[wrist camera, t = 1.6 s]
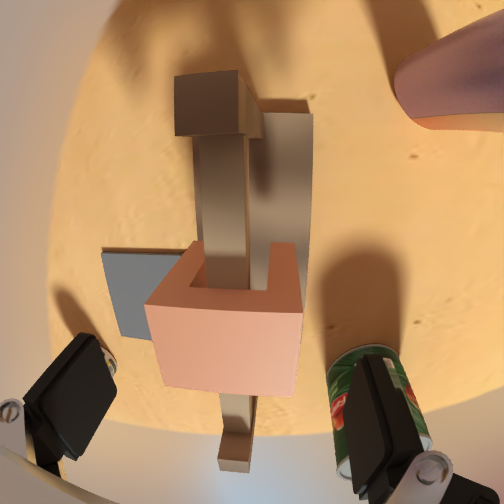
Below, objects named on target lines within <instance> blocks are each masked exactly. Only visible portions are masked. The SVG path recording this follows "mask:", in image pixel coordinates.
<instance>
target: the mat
mask: <svg viewBox="0 0 504 504" xmlns="http://www.w3.org/2000/svg"><path fill="white" fill-rule="evenodd" d="M182 255H183V254H167V253H131V252H102V253H101V257H102V262H103V267H104V271H105V276H106V280H107V285H108V289H109V293H110V297H111V301H112V305H113V309H114V312H115V316H116V319H117V323H118V326H119V330H120V333H121V336H125V337H131V338H138V339H144V340H152V338H151V334H150V329H149V325H148V321H147V316H146V312H145V307H144V304H145V302H146V301H147V300H148V298H149V297H150V296H151V294H152V293H153V292H154V290H155V289H156V288H157V287H158V285H159V284H160V283H161V281H162V280H163V279H164V278H165V276H166V275H167V274H168V272H169V271H170V270H171V269H172V267H173V266H174V265H175V264H176V262H177V261H178V260H179V259H180V257H181V256H182Z"/></svg>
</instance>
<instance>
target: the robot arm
mask: <svg viewBox="0 0 504 504" xmlns="http://www.w3.org/2000/svg"><path fill="white" fill-rule="evenodd" d="M116 394H117V388H116V385H115V383H114V381H113V378H112V376H111V373H110V370H109V368H108V365H107V363H106V360H105V357H104V354H103V352H102V349H101V346H100V343H99V341H98V340H97V339H96V337H95V336H94V335H92V334H87V333H82V332H81V333H79V334H78V335H77V336H76V337H75V338H74V339H73V340H72V341H71V342H70V343H69V345H68V346H67V347H66V348H65V349H64V350H63V351H62V352H61V353H60V355H59V356H58V357H57V358H56V359H55V360H54V361H53V363H52V364H51V365H50V366H49V367H48V368H47V369H46V371H45V372H44V373H43V374H42V375H41V376H40V378H39V379H38V380H37V381H36V383H35V384H34V385H33V386H32V387H31V388H30V390H29V391H28V392H27V393H26V394H25V396H24V397H23V400H24V402H25V404H24V405H23V404H22V403H21V402H20V401H19V400H17V399H7V400H4V401H3V402H1V403H0V504H119V503H116V502H113V501H110V500H108V499H105V498H103V497H100V496H98V495H95V494H93V493H91V492H88V491H86V490H84V489H82V488H80V487H77V486H75V485H73V484H71V483H69V482H68V481H67V477H66V474H65V470H64V466H63V462H62V457H63V455H65V456H66V457H68V458H70V459H72V460H74V461H77V459H78V457H79V456H82V455H83V453H84V452H85V449H86V448H87V446H88V444H89V442H90V440H91V439H92V437H93V435H94V433H95V431H96V430H97V428H98V426H99V424H100V423H101V421H102V419H103V417H104V416H105V414H106V412H107V410H108V409H109V407H110V405H111V403H112V402H113V400H114V398H115V397H116ZM342 414H343V422H344V428H345V435H346V441H347V448H348V455H349V462H350V469H351V476H352V484H353V491H354V494H359V500H366V499H368V501H369V504H500V500H499V497H498V494H497V493H496V492H495V491H494V490H492V489H491V488H489V487H486V486H483V485H481V484H478V483H476V482H473V481H471V480H469V479H466V478H464V477H462V476H459V475H457V474H455V473H453V464H452V462H451V460H450V459H449V458H448V457H447V456H446V455H445V454H443V453H441V452H439V451H426V452H425V451H424V448H423V445H422V442H421V439H420V436H419V433H418V431H417V428H416V425H415V422H414V419H413V417H412V414H411V411H410V409H409V406H408V403H407V401H406V398H405V396H404V393H403V391H402V390H401V389H400V388H395V387H394V385H393V382H392V379H391V377H390V374H389V372H388V369H387V367H386V364H385V362H384V359H383V357H382V355H381V354H380V353H372V354H364V355H363V357H362V358H359V359H358V360H357V363H356V366H355V370H354V374H353V377H352V381H351V384H350V387H349V391H348V394H347V397H346V401H345V404H344V407H343V413H342Z"/></svg>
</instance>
